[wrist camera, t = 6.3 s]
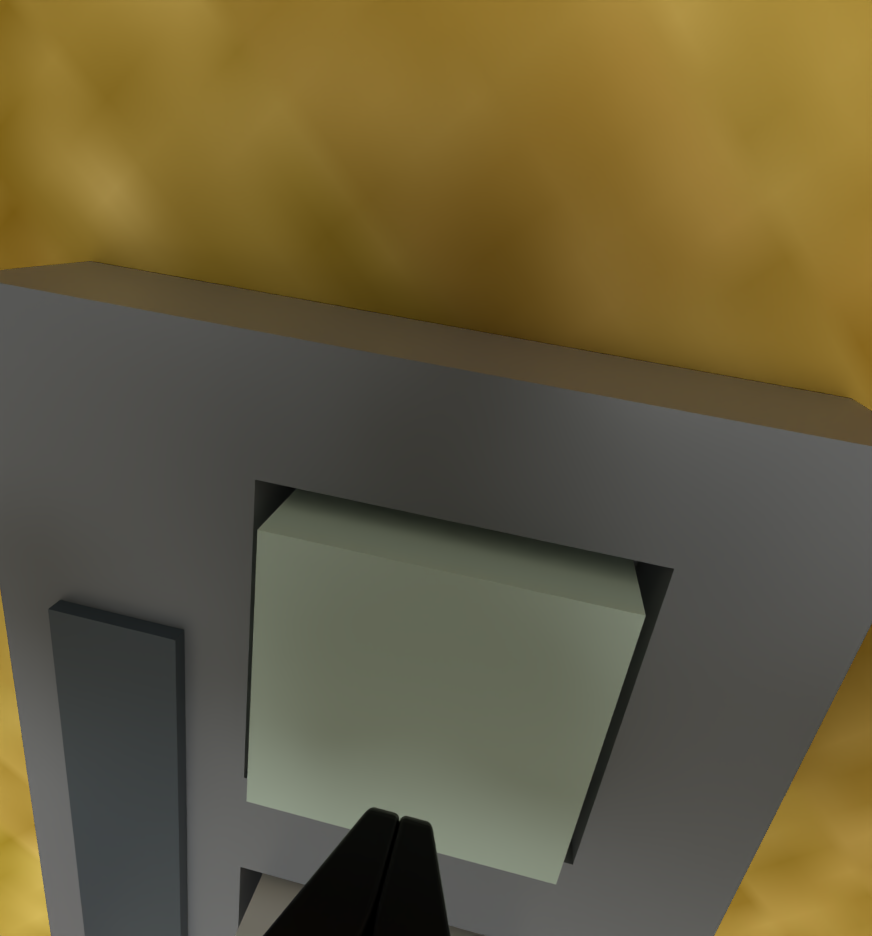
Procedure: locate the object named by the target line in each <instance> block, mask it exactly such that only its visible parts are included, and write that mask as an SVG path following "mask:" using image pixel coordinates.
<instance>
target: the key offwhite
mask: <svg viewBox="0 0 872 936" xmlns="http://www.w3.org/2000/svg"><path fill="white" fill-rule="evenodd" d="M303 886H304V885H303V884H300V883H296V882H293V881H289V880H286V879H282V878H278V877H275V876H271V875H268V874H264V873H263V874H262V876H261V878H260V881H259V883H258V885H257V887H256V890H255V892H254V894H253V896H252V899H251V901H250V903H249V905H248V908H247V910H246V912H245V914H244V917H243V919H242V921H241V923H240V926H239V928H238V930H237V932H236V935H235V936H263V935H264V934H265V932H266V931H267V930H268V929H269V928H270V926H271V925H272V924H273V923H274V921H275V920H276V919H277V918H278V917H279V915H280V914H281V913H282V912H283V911H284V909H285V908H286V907H287V906H288V905H289V903H290V902H291V901H292V900H293V899H294V897H295V896H296V895H297V894H298V892H299V891H300V890H301V889H302V888H303ZM449 929H450V935H451V936H485V935H482V934H478V933H474V932H471V931H467V930H464V929H460V928H457V927H453V926H450V925H449Z"/></svg>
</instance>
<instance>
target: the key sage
mask: <svg viewBox="0 0 872 936" xmlns="http://www.w3.org/2000/svg"><path fill="white" fill-rule="evenodd" d="M645 617H646V615H645V610H644V606H643V601H642V597H641V593H640V588H639V584H638V579H637V575H636V571H635V566H634V562H633V560H631V559H626V558H621V557H616V556H612V555H607V554H602V553H598V552H593V551H588V550H584V549H579V548H574V547H569V546H565V545H560V544H555V543H551V542H546V541H541V540H537V539H532V538H527V537H523V536H518V535H513V534H508V533H504V532H499V531H494V530H490V529H485V528H480V527H476V526H471V525H466V524H461V523H457V522H452V521H447V520H443V519H438V518H433V517H429V516H424V515H419V514H415V513H410V512H405V511H400V510H396V509H391V508H386V507H382V506H377V505H372V504H368V503H363V502H358V501H353V500H349V499H344V498H339V497H335V496H330V495H325V494H321V493H316V492H311V491H307V490H302V489H296V490H295V491H294V492H293V493H292V494H291V495H290V496H289V497H288V498H287V499H286V500H285V501H284V502H283V503H282V504H281V505H280V507H279V508H278V509H277V510H276V511H275V512H274V513H273V514H272V515H271V516H270V517H269V518H268V519H267V520H266V521H265V522H264V523H263V524H262V526H261V527H260V528H259V529H258V530H257V554H256V579H255V604H254V628H253V653H252V677H251V702H250V726H249V751H248V775H247V800H246V801H247V802H251V803H254V804H258V805H262V806H265V807H269V808H273V809H277V810H280V811H284V812H288V813H292V814H295V815H299V816H303V817H306V818H310V819H314V820H318V821H321V822H325V823H329V824H332V825H336V826H340V827H344V828H347V829H351V828H352V827H353V826H354V825H355V824H356V822H357V821H358V820H359V819H360V818H361V816H362V815H363V814H364V813H365V812H366V811H367V810H368V809H369V808H372V807H376V808H380V809H384V810H387V811H391V812H395V813H397V814H398V816H399V821H400V819H401V818H402V817H403V816H410V817H414V818H417V819H421V820H425V821H428V822H429V823H430V824H431V825H432V828H433V832H434V838H435V844H436V850H437V853H440V854H444V855H448V856H451V857H455V858H459V859H463V860H466V861H470V862H474V863H477V864H481V865H485V866H489V867H492V868H496V869H500V870H504V871H507V872H511V873H515V874H518V875H522V876H526V877H530V878H533V879H537V880H541V881H544V882H548V883H552V884H556V883H557V880H558V877H559V874H560V871H561V868H562V865H563V862H564V859H565V856H566V853H567V850H568V847H569V844H570V841H571V838H572V835H573V832H574V829H575V826H576V823H577V820H578V817H579V814H580V811H581V808H582V805H583V802H584V799H585V796H586V793H587V790H588V787H589V784H590V781H591V778H592V775H593V772H594V769H595V766H596V763H597V760H598V757H599V754H600V751H601V748H602V745H603V742H604V739H605V736H606V733H607V730H608V727H609V724H610V721H611V718H612V715H613V712H614V709H615V706H616V703H617V700H618V697H619V694H620V691H621V688H622V685H623V682H624V679H625V676H626V673H627V670H628V667H629V664H630V661H631V658H632V655H633V652H634V649H635V646H636V643H637V640H638V637H639V634H640V631H641V628H642V625H643V623H644V620H645Z"/></svg>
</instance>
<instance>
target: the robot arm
mask: <svg viewBox="0 0 872 936" xmlns="http://www.w3.org/2000/svg"><path fill="white" fill-rule="evenodd" d="M263 936H451V935H450V929H449V923H448V917H447V911H446V905H445V899H444V893H443V887H442V881H441V875H440V868H439V862H438V856H437V850H436V844H435V838H434V832H433V828H432V825H431V824H430V823H429V822H428V821H425V820H421V819H417V818H414V817H410V816H403V817H402V818H401V819H400V821H399V816H398V814H397V813H395V812H391V811H387V810H384V809H380V808H376V807H372V808H369V809H368V810H367V811H366V812H365V813H364V814H363V815H362V816H361V818H360V819H359V820H358V821H357V822H356V824H355V825H354V826H353V827H352V828H351V830H350V831H349V832H348V833H347V834H346V836H345V837H344V838H343V839H342V840H341V842H340V843H339V844H338V845H337V847H336V848H335V849H334V850H333V851H332V853H331V854H330V855H329V856H328V857H327V859H326V860H325V861H324V862H323V863H322V865H321V866H320V867H319V868H318V870H317V871H316V872H315V873H314V874H313V876H312V877H311V878H310V879H309V880H308V882H307V883H306V884H305V885H304V886H303V888H302V889H301V890H300V891H299V892H298V894H297V895H296V896H295V897H294V899H293V900H292V901H291V902H290V903H289V905H288V906H287V907H286V908H285V909H284V911H283V912H282V913H281V914H280V915H279V917H278V918H277V919H276V920H275V921H274V923H273V924H272V925H271V926H270V928H269V929H268V930H267V931H266V932H265V934H264V935H263Z"/></svg>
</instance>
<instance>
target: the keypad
mask: <svg viewBox="0 0 872 936" xmlns="http://www.w3.org/2000/svg"><path fill="white" fill-rule="evenodd" d="M296 489H302V490H307V491H311V492H316V493H321V494H325V495H330V496H335V497H339V498H344V499H349V500H353V501H358V502H363V503H368V504H372V505H377V506H382V507H386V508H391V509H396V510H400V511H405V512H410V513H415V514H419V515H424V516H429V517H433V518H438V519H443V520H447V521H452V522H457V523H461V524H466V525H471V526H476V527H480V528H485V529H490V530H494V531H499V532H504V533H508V534H513V535H518V536H523V537H527V538H532V539H537V540H541V541H546V542H551V543H555V544H560V545H565V546H569V547H574V548H579V549H584V550H588V551H593V552H598V553H602V554H607V555H612V556H616V557H621V558H626V559H631V560H633V562H634V566H635V571H636V575H637V579H638V584H639V588H640V593H641V597H642V601H643V606H644V610H645V615H646V617H645V620H644V623H643V625H642V628H641V631H640V634H639V637H638V640H637V643H636V646H635V649H634V652H633V655H632V658H631V661H630V664H629V667H628V670H627V673H626V676H625V679H624V682H623V685H622V688H621V691H620V694H619V697H618V700H617V703H616V706H615V709H614V712H613V715H612V718H611V721H610V724H609V727H608V730H607V733H606V736H605V739H604V742H603V745H602V748H601V751H600V754H599V757H598V760H597V763H596V766H595V769H594V772H593V775H592V778H591V781H590V784H589V787H588V790H587V793H586V796H585V799H584V802H583V805H582V808H581V811H580V814H579V817H578V820H577V823H576V826H575V829H574V832H573V835H572V838H571V841H570V844H569V847H568V850H567V853H566V856H565V859H564V862H563V865H562V868H561V871H560V874H559V877H558V880H557V883H556V884H552V883H548V882H544V881H541V880H537V879H533V878H530V877H526V876H522V875H518V874H515V873H511V872H507V871H504V870H500V869H496V868H492V867H489V866H485V865H481V864H477V863H474V862H470V861H466V860H463V859H459V858H455V857H451V856H448V855H444V854H440V853H437V856H438V862H439V868H440V875H441V881H442V887H443V893H444V899H445V905H446V911H447V917H448V923H449V925H450V926H453V927H457V928H460V929H464V930H467V931H471V932H474V933H478V934H482V935H485V936H714V935H715V933H716V931H717V929H718V927H719V925H720V923H721V921H722V919H723V917H724V915H725V913H726V911H727V909H728V907H729V905H730V903H731V901H732V899H733V897H734V895H735V893H736V891H737V889H738V887H739V885H740V883H741V881H742V879H743V877H744V875H745V873H746V871H747V869H748V867H749V865H750V863H751V861H752V860H753V858H754V856H755V854H756V852H757V850H758V848H759V846H760V844H761V842H762V840H763V838H764V836H765V834H766V832H767V830H768V828H769V826H770V824H771V822H772V820H773V818H774V816H775V814H776V812H777V810H778V808H779V806H780V804H781V802H782V800H783V798H784V796H785V794H786V792H787V790H788V788H789V786H790V784H791V782H792V780H793V778H794V776H795V774H796V772H797V771H798V769H799V767H800V765H801V763H802V761H803V759H804V757H805V755H806V753H807V751H808V749H809V747H810V745H811V743H812V741H813V739H814V737H815V735H816V733H817V731H818V729H819V727H820V725H821V723H822V721H823V719H824V717H825V715H826V713H827V711H828V709H829V707H830V705H831V703H832V701H833V699H834V697H835V695H836V693H837V691H838V689H839V687H840V685H841V683H842V681H843V680H844V678H845V676H846V674H847V672H848V670H849V668H850V666H851V664H852V662H853V660H854V658H855V656H856V654H857V652H858V650H859V648H860V646H861V644H862V642H863V640H864V638H865V636H866V634H867V632H868V630H869V628H870V626H871V624H872V411H871V410H869V409H868V408H866V407H864V406H863V405H861V404H859V403H858V402H856V401H855V400H853V399H851V398H845V397H840V396H834V395H829V394H823V393H818V392H812V391H807V390H801V389H796V388H790V387H785V386H779V385H773V384H768V383H762V382H757V381H751V380H746V379H740V378H735V377H729V376H724V375H718V374H712V373H707V372H701V371H696V370H690V369H685V368H679V367H674V366H668V365H663V364H657V363H652V362H646V361H640V360H635V359H629V358H624V357H618V356H613V355H607V354H602V353H596V352H591V351H585V350H579V349H574V348H568V347H563V346H557V345H552V344H546V343H541V342H535V341H530V340H524V339H519V338H513V337H507V336H502V335H496V334H491V333H485V332H480V331H474V330H469V329H463V328H458V327H452V326H446V325H441V324H435V323H430V322H424V321H419V320H413V319H408V318H402V317H397V316H391V315H386V314H380V313H374V312H369V311H363V310H358V309H352V308H347V307H341V306H336V305H330V304H325V303H319V302H313V301H308V300H302V299H297V298H291V297H286V296H280V295H275V294H269V293H264V292H258V291H253V290H247V289H241V288H236V287H230V286H225V285H219V284H214V283H208V282H203V281H197V280H192V279H186V278H180V277H175V276H169V275H164V274H158V273H153V272H147V271H142V270H136V269H131V268H125V267H120V266H114V265H108V264H103V263H97V262H92V261H87V262H77V263H67V264H57V265H46V266H36V267H26V268H16V269H6V270H0V589H1V596H2V603H3V610H4V616H5V623H6V630H7V637H8V644H9V651H10V658H11V664H12V671H13V678H14V685H15V692H16V699H17V706H18V712H19V719H20V726H21V733H22V740H23V747H24V754H25V760H26V767H27V774H28V781H29V788H30V795H31V802H32V808H33V815H34V822H35V829H36V836H37V843H38V850H39V856H40V863H41V870H42V877H43V884H44V891H45V898H46V904H47V911H48V918H49V925H50V932H51V936H235V935H236V932H237V930H238V928H239V926H240V923H241V921H242V919H243V917H244V914H245V912H246V910H247V908H248V905H249V903H250V901H251V899H252V896H253V894H254V892H255V890H256V887H257V885H258V883H259V881H260V878H261V876H262V874H263V873H264V874H268V875H271V876H275V877H278V878H282V879H286V880H289V881H293V882H296V883H300V884H303V885H305V884H306V883H307V882H308V880H309V879H310V878H311V877H312V876H313V874H314V873H315V872H316V871H317V870H318V868H319V867H320V866H321V865H322V863H323V862H324V861H325V860H326V859H327V857H328V856H329V855H330V854H331V853H332V851H333V850H334V849H335V848H336V847H337V845H338V844H339V843H340V842H341V840H342V839H343V838H344V837H345V836H346V834H347V833H348V832H349V831H350V830H351V829H347V828H344V827H340V826H336V825H332V824H329V823H325V822H321V821H318V820H314V819H310V818H306V817H303V816H299V815H295V814H292V813H288V812H284V811H280V810H277V809H273V808H269V807H265V806H262V805H258V804H254V803H251V802H247V801H246V800H247V775H248V751H249V726H250V702H251V677H252V653H253V628H254V604H255V579H256V554H257V530H258V529H259V528H260V527H261V526H262V524H263V523H264V522H265V521H266V520H267V519H268V518H269V517H270V516H271V515H272V514H273V513H274V512H275V511H276V510H277V509H278V508H279V507H280V505H281V504H282V503H283V502H284V501H285V500H286V499H287V498H288V497H289V496H290V495H291V494H292V493H293V492H294V491H295V490H296Z"/></svg>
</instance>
